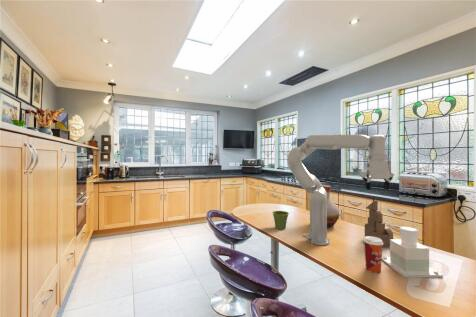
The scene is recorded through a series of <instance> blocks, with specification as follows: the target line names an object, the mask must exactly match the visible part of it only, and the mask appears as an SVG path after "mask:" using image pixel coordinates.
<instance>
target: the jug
mask: <svg viewBox="0 0 476 317" xmlns="http://www.w3.org/2000/svg"><path fill="white" fill-rule="evenodd" d="M321 185H322V186H323V188H324V189H325V191H326V192H327V200H326V209H327V228H332V227H334V225H336V223H337V222H338V219H339V218H340V209H339V207H338V205H337V204H336V203H334V202H333V200H332V199H331V198H330V195H331V194H330V193H331V191H332V190H331V188H332V186H331V185H328V184H321Z"/></svg>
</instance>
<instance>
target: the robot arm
mask: <svg viewBox="0 0 476 317" xmlns="http://www.w3.org/2000/svg"><path fill="white" fill-rule="evenodd" d="M304 140H305V141H304V142H303V143H302V144H301V145H299V146H298V147H293V148H292V149H290V150H289V152H288V155H287V158H286V159H287V161H286V162H287V166H288V167H289V170H290V171H291V173H292V175H293V176H294V177H295V179H296V180H297V182H298V183H299V185H300V186H301V187H302V189H304V190H306V191H307V192H308V193H309V196H308V200H309V201H308V202H309V203H308V204H309V232H308V233H306V234H305V233H301V235H302V236H301V237H302V238H305V239H307V242H308V243H310V244H312V245H316V246H328V245H329V244H330V243H331V241H330V239H329V238H328V229H327V228H328V227H327V209H326V200H327V192H326V191H325V189H324V188H323V186H322V185H323V184H322V183H321V182H320V181H319V179H318V178H317V177H316V175H314V174H312V173H310V172H309V171H308V169H307V168H306V166H305V165H304V164H303V162H302V161H303V160H305V159H306V158H307V157H308V156H310V155H311V154H312V153H314V152H315V151H316V150H317V149H318V150H341V149H342V150H343V149H354V150H355V149H356V150H367V149H368V156H366V159H368V160H367V163H366V169H365V171H364V172H362V173H360V177H361V179H362V180H363V181H364V183H365V189H366V190H368V191H370V190H371V187H372V186H371V180H383V181H384V182H383V189H384V190H388V191H389V190H390V183H391V181H392V180H393V178H394V176H395V174H394V173H393V172H391V171H390V167H389V166H390V165H389V163H388V160H386V137H385V135H382V134H375V135H370V136H368V135H365V134H310V135H308V136H307V137H306V138H305V139H304Z"/></svg>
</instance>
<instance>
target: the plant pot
mask: <svg viewBox="0 0 476 317" xmlns="http://www.w3.org/2000/svg"><path fill="white" fill-rule="evenodd" d="M289 214H290V213H289V212H288V211H286V210H285V211H284V210H274V211H272V216H273V221H274V227H275V229H277V230H283V231H284V230H285V229H286V227H287V221H288V217H289Z"/></svg>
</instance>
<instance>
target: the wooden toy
mask: <svg viewBox="0 0 476 317" xmlns="http://www.w3.org/2000/svg"><path fill="white" fill-rule="evenodd" d="M378 207H379V206H378V200H373V201H372V202H371V203H370V204H369V205H368V206H366V207H365V209H366V210H368V214H369V215H368V216H367V223H365V224H364V237H366V236H372V237H377V238H380V239H381V240H382V242H383V245H382V248H390V239H394V232H393V231H392V229H391V228H390V227H388V226H386V222H384V221H383V219H384V217H383V214H382V212H381V210H378Z"/></svg>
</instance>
